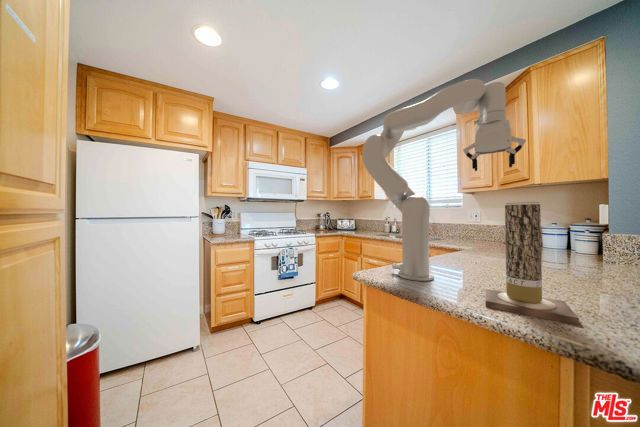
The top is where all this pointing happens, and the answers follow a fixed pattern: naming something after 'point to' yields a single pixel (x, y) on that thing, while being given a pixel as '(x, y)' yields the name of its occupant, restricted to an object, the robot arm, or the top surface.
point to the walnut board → (532, 307)
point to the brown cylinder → (523, 251)
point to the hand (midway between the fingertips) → (492, 168)
